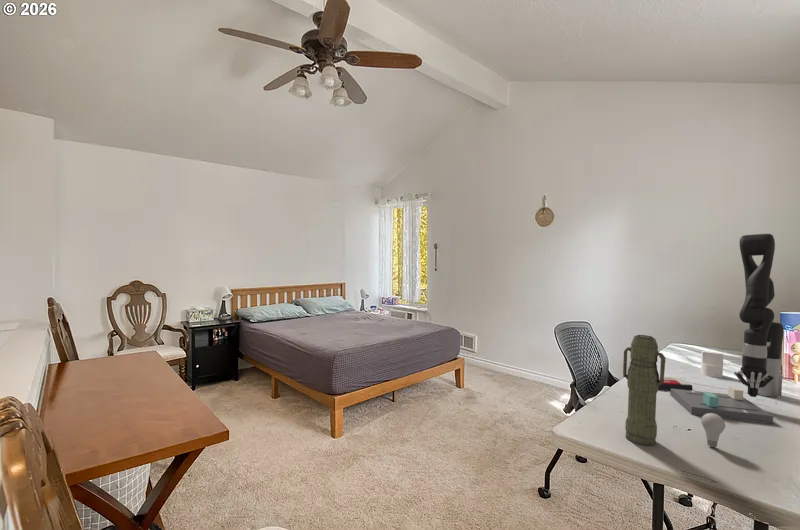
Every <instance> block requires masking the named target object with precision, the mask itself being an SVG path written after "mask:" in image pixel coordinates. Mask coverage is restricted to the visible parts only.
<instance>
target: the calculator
mask: <svg viewBox="0 0 800 530" xmlns="http://www.w3.org/2000/svg"><path fill="white" fill-rule="evenodd" d="M659 380H660V376H659ZM658 389H659V390H658V391H666V390H667V391H668V392H670V390H671V389H681V390H691V391H694V390H693V385H692V384H691V383H689V382H688V381H686V380H685V379H683V378H682V377H672V376H664V383H663V384H661V385H659V386H658Z"/></svg>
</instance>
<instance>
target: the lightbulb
mask: <svg viewBox="0 0 800 530" xmlns="http://www.w3.org/2000/svg"><path fill="white" fill-rule="evenodd" d="M700 421H701V423H700V424H701V426H702V427H703V429H704V431H705V436H706V444H707V446H709V447H711V448H712V449H713V448H716V447H718V442H719V440H720V436H721V434H722V433H723V432H724V430H725V429H726V423H725V420H724V418H721V417H720V416H719V415H717V414H714V413H707V414H705V415H704V416H702V417H701V419H700Z"/></svg>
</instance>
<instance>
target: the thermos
mask: <svg viewBox="0 0 800 530" xmlns="http://www.w3.org/2000/svg"><path fill="white" fill-rule="evenodd" d="M658 349H659V347H658V343H657V340H656V338H654V337H653V336H651V335H645V334H637V335H634V336H633V338H632V340H631V343H630V347H626V348H625V349H624V351H623V365H622V366H623V367H622V368H623V369H622V375H623V378H625V379H626V380H627V383H626V385H627V388H628V396H627V398H628V399H627V403H628V404H627V417H626V419H625V426H624V428H625V429H624V430H625V438H626V440H628V441H629V442H631V443H632V444H633V443H634V444H635V445H638V446H644V447H654V446H655V445H656V444H657V441H656V438H657V435H658V434H657V433H658V425H657V421H656V412H657V411H656V409H657V393H658V391H659V390H658V386H659V385H661V384H663V383H664V377H665V369H666V356H665V355H664V354H663V352H660V351H659V350H658ZM628 351H629V352H630V363H629V364H630V365H629V366H628V368H627V365H628V364H627V363H628ZM658 357H659V358H660V368H659V369H660V370H659V371H658V365H657V362H658ZM659 372H660V373H659ZM659 377H660V380H659Z"/></svg>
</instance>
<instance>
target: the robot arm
mask: <svg viewBox="0 0 800 530" xmlns="http://www.w3.org/2000/svg"><path fill="white" fill-rule="evenodd" d="M775 249H776V243H775V237H774V236H773V234H771V233H757V234H745V235H741V237H740V238H739V251H740V257H741V260H742V266H743V271H744V279H745V281H744V282H745V283H744V284H745V298H744V302H743V305H742V307H741V309H740V311H739V320H740V321H741V322H743V323H745V324H748V325H749V328H748V329H745V330H744V333H743V334H744V335H743V345H742V356H741V358H742V359H741V367H740V370H738V371H734V372H733V374H734V375H735V376H736V378H737V379H738V380H739V381H740V383H741V384H743V385H744V386H745V387H747V394H748V396H749V397H753V398H756V397H758V394H760V395H759V396H762V395H764V397H767V396H771V397H770V398H778V397H777V396H780V397H779V398H782V388H783V376H782V375H781V360H782V351H783V350H782V349H783V340H784V334H785V333H784V332H785V331H784V326H783V324H782V323H780V322H775V321H774V320H775V312H774V310H772V309H771V307H770V308H769V307H768V306H769V305H770V304H771V303H772V301H773V299H774V298H775V286H774V281H773V279H772V278H771V272H772V266H773V261H774V256H775ZM753 256H762V259H761V262H760V263H759V264H757V263H756V261H755V260H754V257H753ZM768 343H770V344H769V345H767V344H768ZM744 377H745V378H744Z"/></svg>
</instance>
